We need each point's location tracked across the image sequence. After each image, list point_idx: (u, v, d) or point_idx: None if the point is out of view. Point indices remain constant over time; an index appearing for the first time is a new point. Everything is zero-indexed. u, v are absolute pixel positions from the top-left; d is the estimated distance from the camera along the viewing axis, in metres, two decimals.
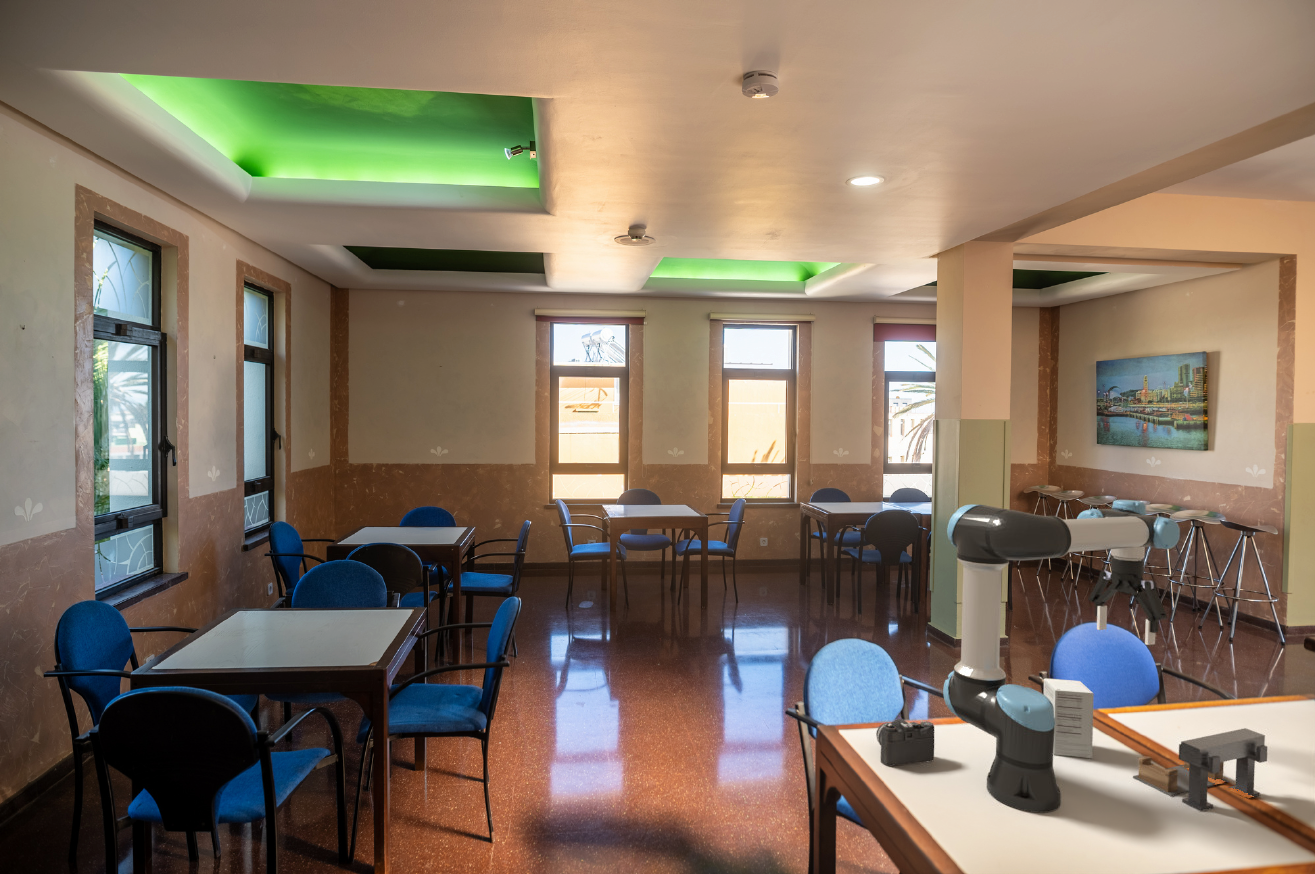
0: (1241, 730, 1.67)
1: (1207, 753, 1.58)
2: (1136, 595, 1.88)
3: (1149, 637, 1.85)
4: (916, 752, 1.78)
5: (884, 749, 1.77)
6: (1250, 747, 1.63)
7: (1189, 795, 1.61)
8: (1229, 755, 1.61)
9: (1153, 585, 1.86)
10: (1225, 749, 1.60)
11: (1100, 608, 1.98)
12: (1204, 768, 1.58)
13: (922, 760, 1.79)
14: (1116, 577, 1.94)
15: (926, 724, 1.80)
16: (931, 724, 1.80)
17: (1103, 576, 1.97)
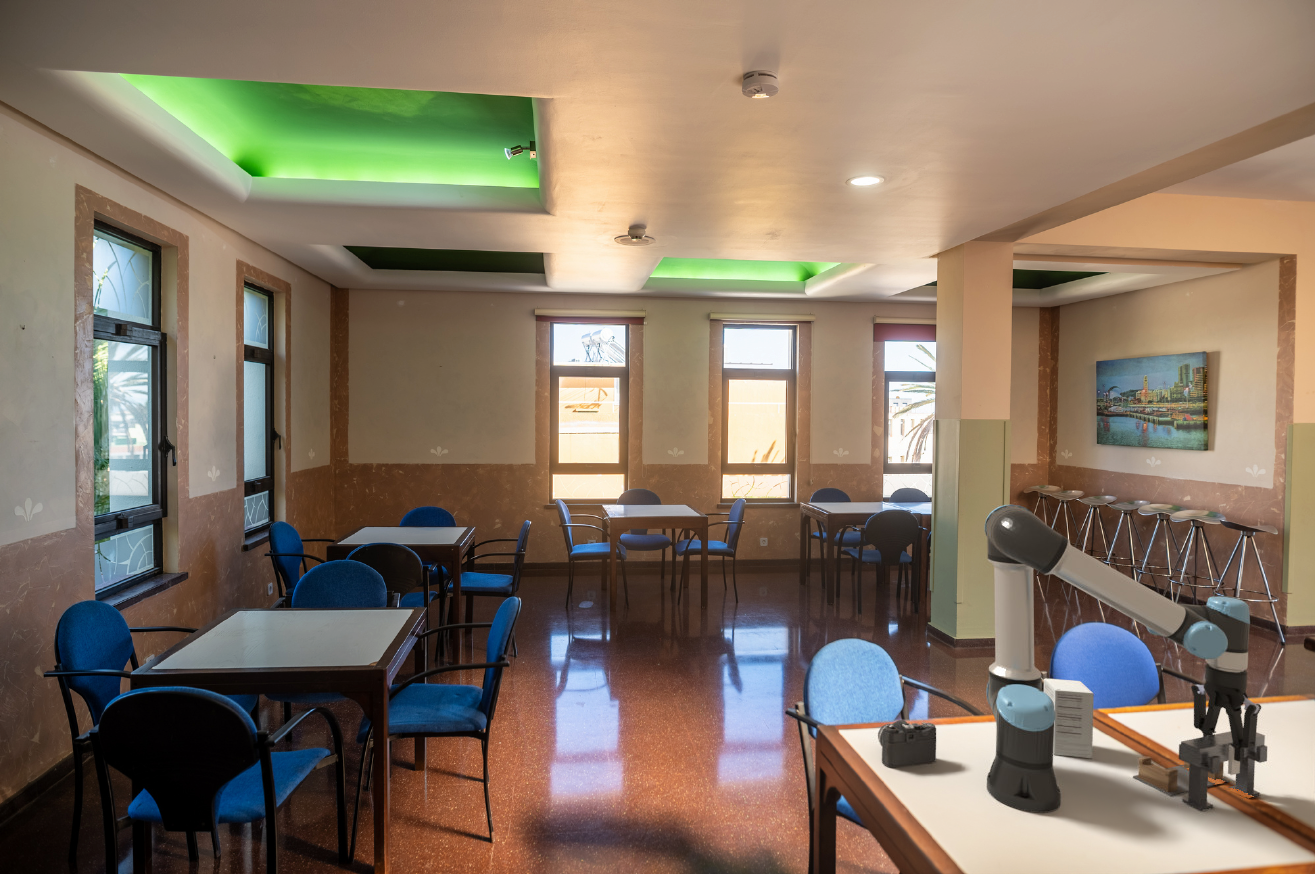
0: None
1: (1207, 753, 1.58)
2: (1231, 714, 1.60)
3: (1233, 766, 1.60)
4: (917, 754, 1.77)
5: (885, 750, 1.77)
6: (1250, 747, 1.63)
7: (1189, 795, 1.61)
8: None
9: (1258, 710, 1.57)
10: (1225, 749, 1.60)
11: None
12: (1204, 768, 1.58)
13: (924, 762, 1.78)
14: (1211, 686, 1.64)
15: (928, 725, 1.79)
16: (933, 725, 1.80)
17: (1197, 691, 1.67)
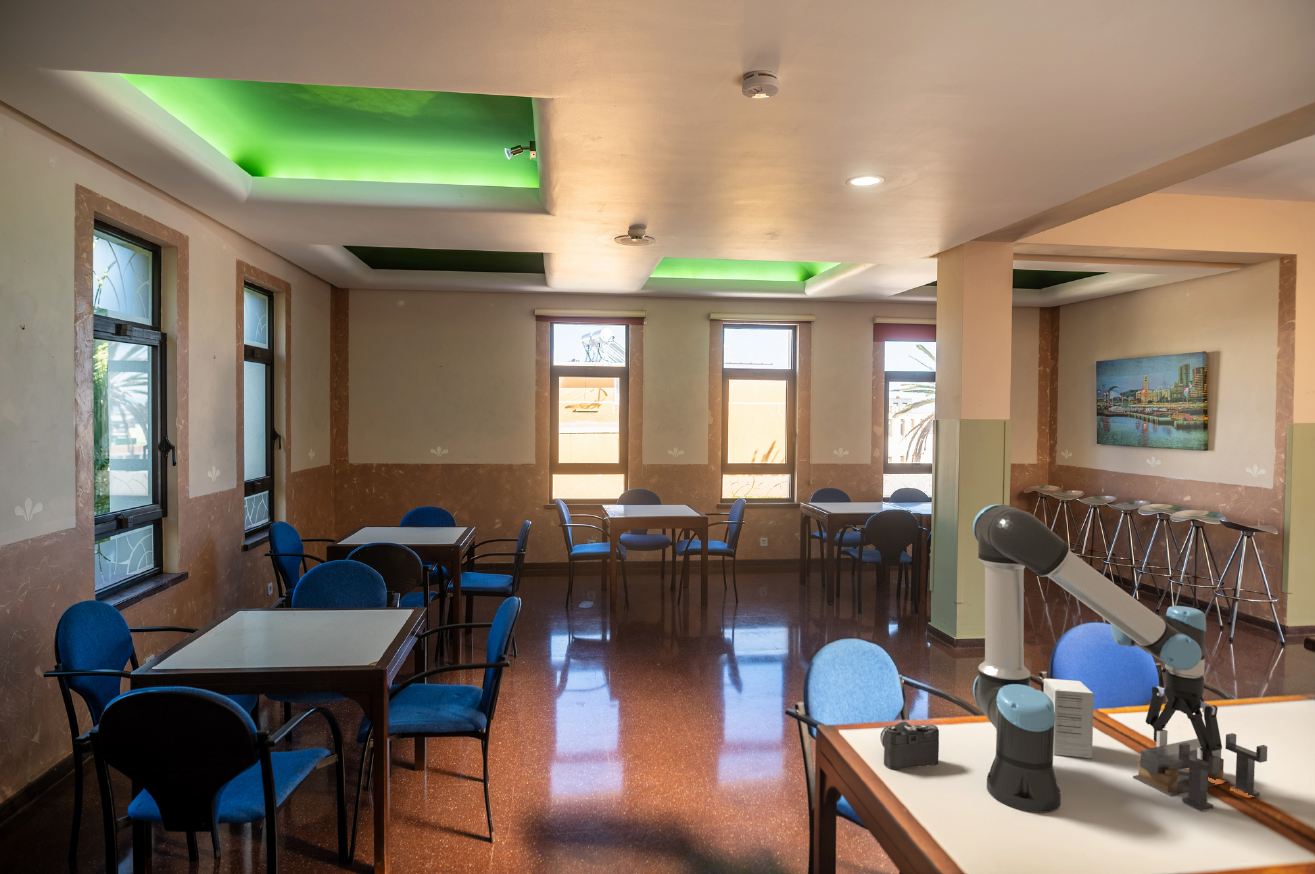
0: None
1: (1165, 761, 1.67)
2: (1192, 718, 1.68)
3: None
4: (920, 756, 1.76)
5: (887, 752, 1.76)
6: None
7: (1189, 795, 1.61)
8: (1187, 763, 1.70)
9: (1215, 711, 1.65)
10: None
11: (1160, 734, 1.75)
12: (1204, 768, 1.58)
13: (926, 764, 1.77)
14: (1171, 692, 1.73)
15: (930, 727, 1.78)
16: (935, 727, 1.78)
17: (1156, 692, 1.76)
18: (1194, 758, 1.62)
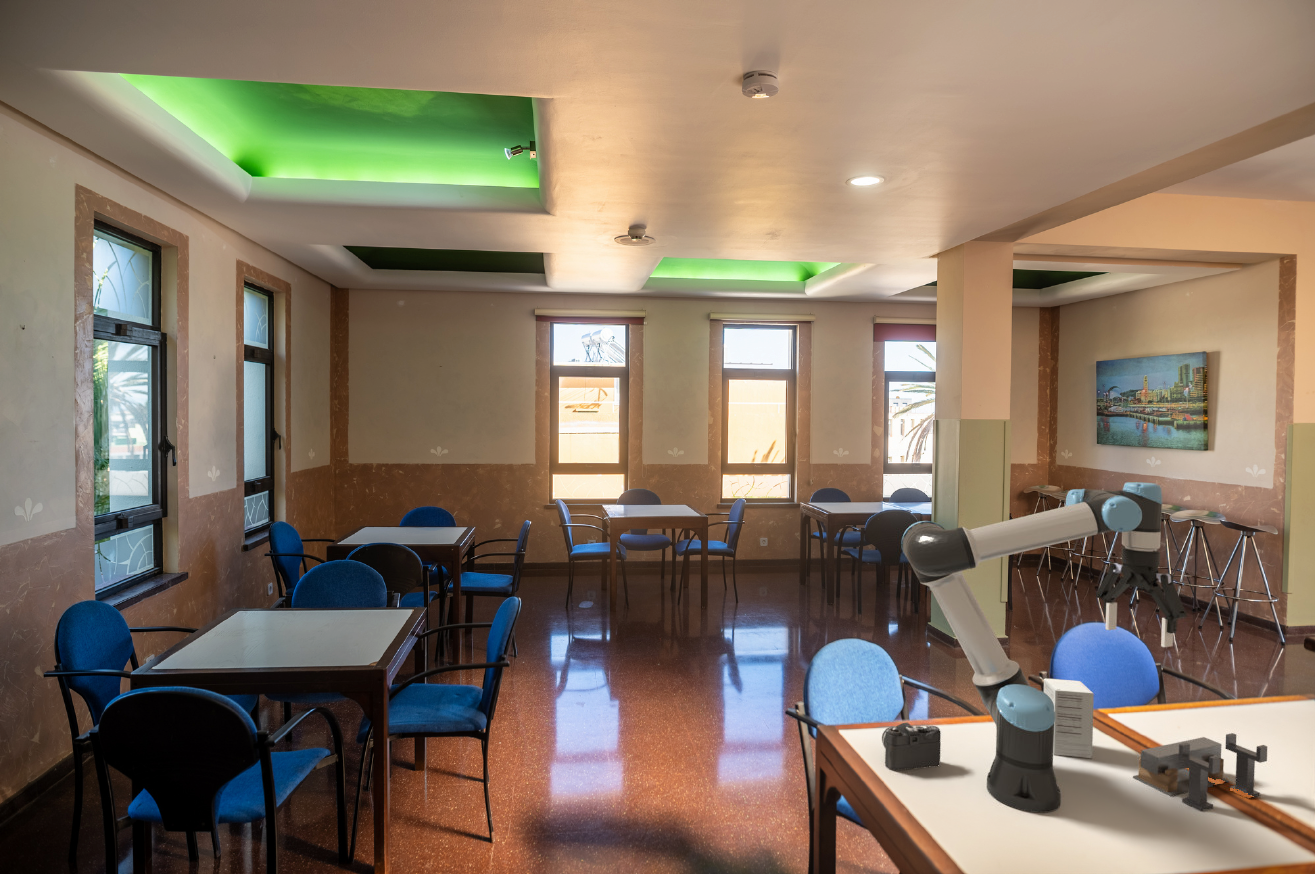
0: (1200, 738, 1.76)
1: (1165, 761, 1.67)
2: (1151, 590, 1.65)
3: (1166, 638, 1.62)
4: (921, 757, 1.76)
5: (888, 753, 1.75)
6: (1207, 755, 1.72)
7: (1189, 795, 1.61)
8: (1187, 763, 1.70)
9: (1171, 579, 1.63)
10: None
11: (1109, 605, 1.75)
12: (1204, 768, 1.58)
13: (928, 765, 1.76)
14: (1128, 570, 1.71)
15: (932, 728, 1.78)
16: (937, 729, 1.78)
17: (1113, 569, 1.74)
18: (1194, 758, 1.62)
